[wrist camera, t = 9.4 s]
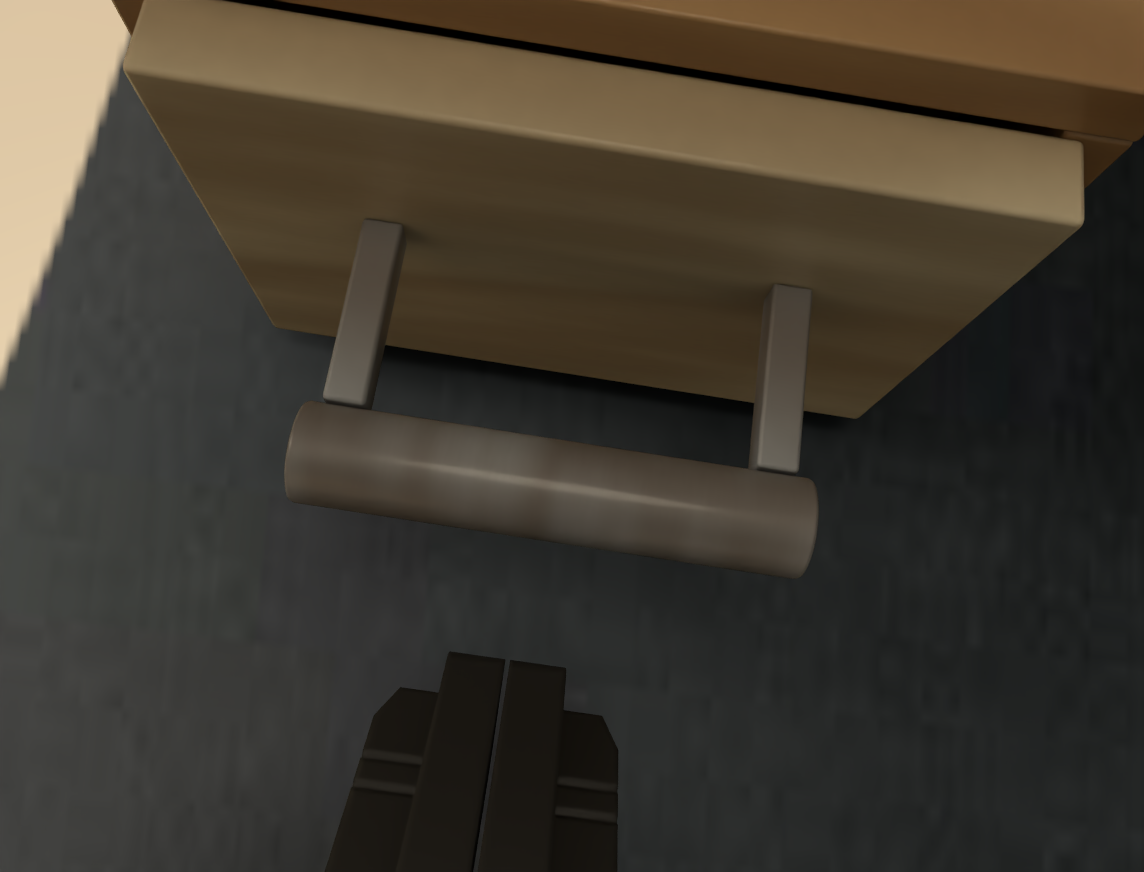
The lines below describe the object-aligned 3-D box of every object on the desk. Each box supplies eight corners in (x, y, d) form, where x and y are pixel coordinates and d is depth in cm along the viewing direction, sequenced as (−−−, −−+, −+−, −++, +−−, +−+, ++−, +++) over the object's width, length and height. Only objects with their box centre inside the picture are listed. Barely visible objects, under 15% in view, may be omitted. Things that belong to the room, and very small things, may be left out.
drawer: (845, 635, 18) (1093, 572, 10) (220, 539, 18) (5, 405, 10) (890, -120, 23) (1077, -530, 15) (406, -201, 23) (356, -659, 15)
